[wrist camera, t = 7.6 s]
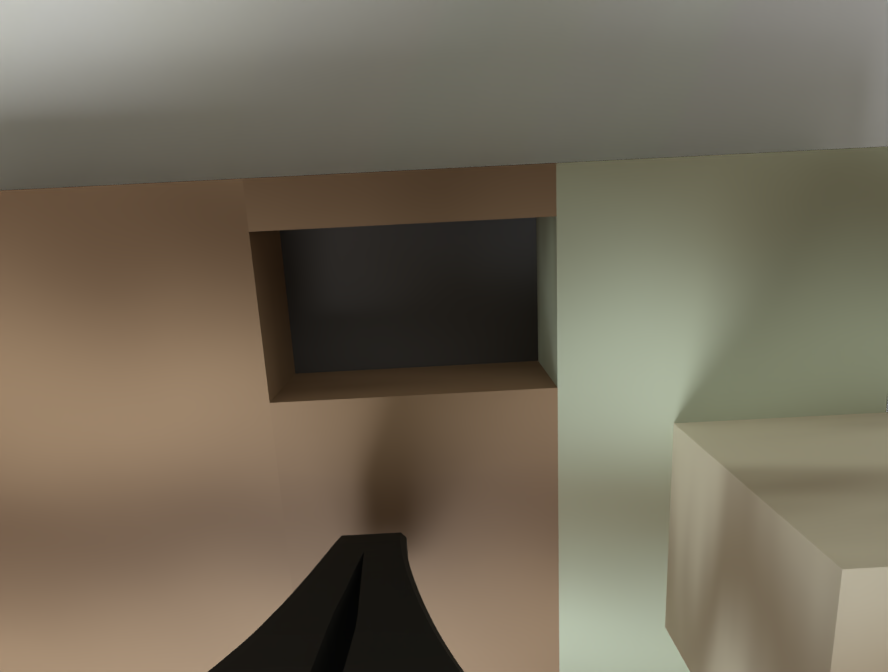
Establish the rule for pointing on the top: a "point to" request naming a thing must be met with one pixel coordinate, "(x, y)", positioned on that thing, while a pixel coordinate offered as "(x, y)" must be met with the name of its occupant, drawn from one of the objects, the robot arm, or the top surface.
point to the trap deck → (406, 390)
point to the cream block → (780, 544)
